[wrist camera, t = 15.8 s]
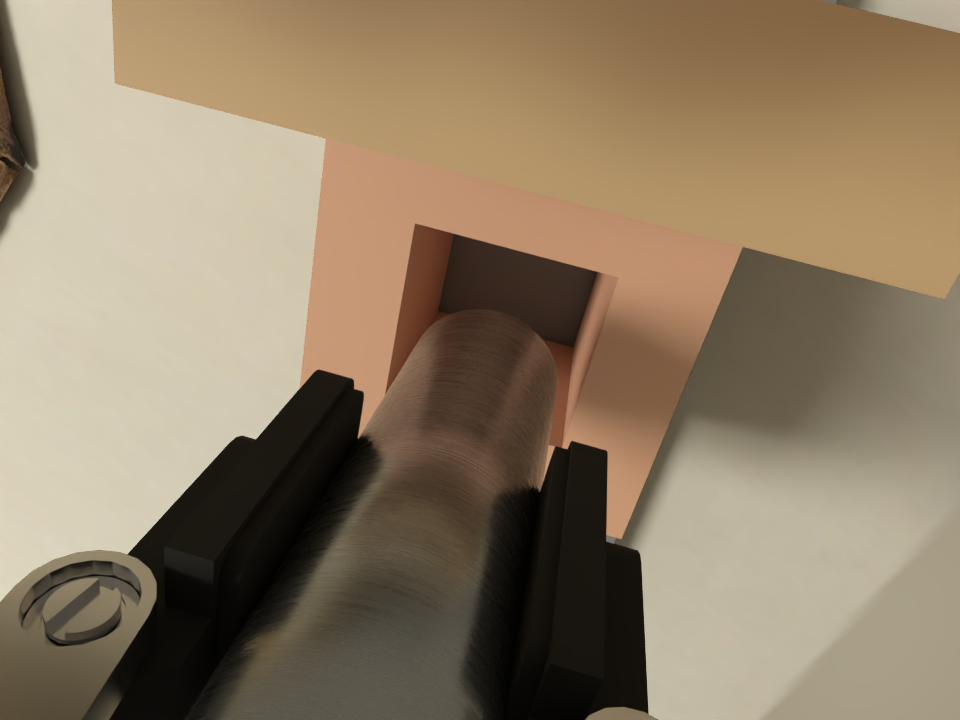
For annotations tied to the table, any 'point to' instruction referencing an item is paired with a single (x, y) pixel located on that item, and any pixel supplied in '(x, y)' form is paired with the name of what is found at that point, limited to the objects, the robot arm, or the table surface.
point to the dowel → (410, 547)
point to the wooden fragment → (8, 144)
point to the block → (534, 230)
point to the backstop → (612, 108)
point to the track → (519, 288)
